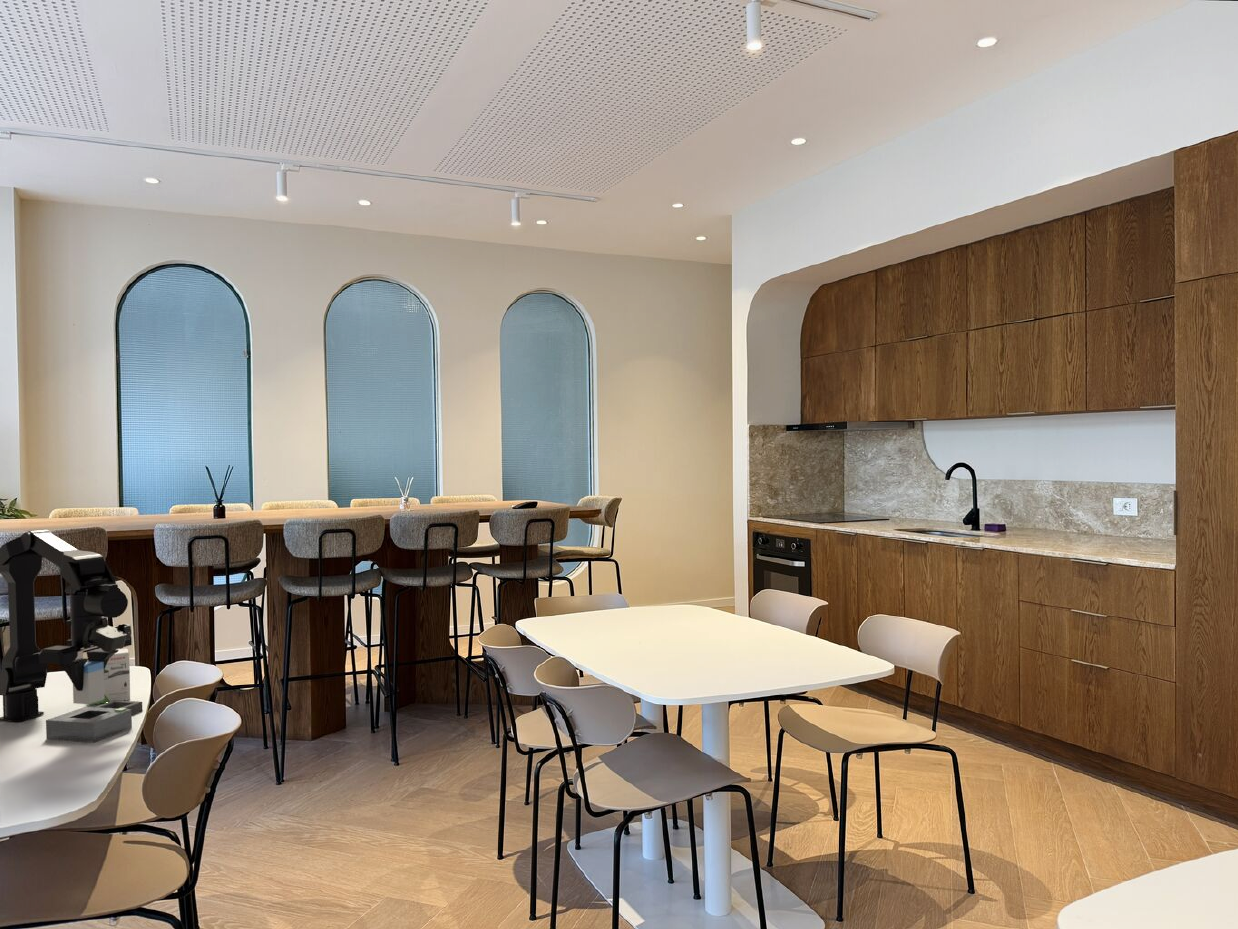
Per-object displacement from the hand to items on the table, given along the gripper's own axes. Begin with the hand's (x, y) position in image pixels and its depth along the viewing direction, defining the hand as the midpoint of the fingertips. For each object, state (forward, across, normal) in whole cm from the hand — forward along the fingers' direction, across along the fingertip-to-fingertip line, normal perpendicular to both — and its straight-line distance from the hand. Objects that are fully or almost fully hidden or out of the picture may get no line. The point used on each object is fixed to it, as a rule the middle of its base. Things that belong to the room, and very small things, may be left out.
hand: (88, 687), depth 189 cm
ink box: (+10, +23, +17) cm, 30 cm away
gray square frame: (+10, +13, +6) cm, 17 cm away
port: (+10, 0, 0) cm, 10 cm away
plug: (+3, 0, 0) cm, 3 cm away
